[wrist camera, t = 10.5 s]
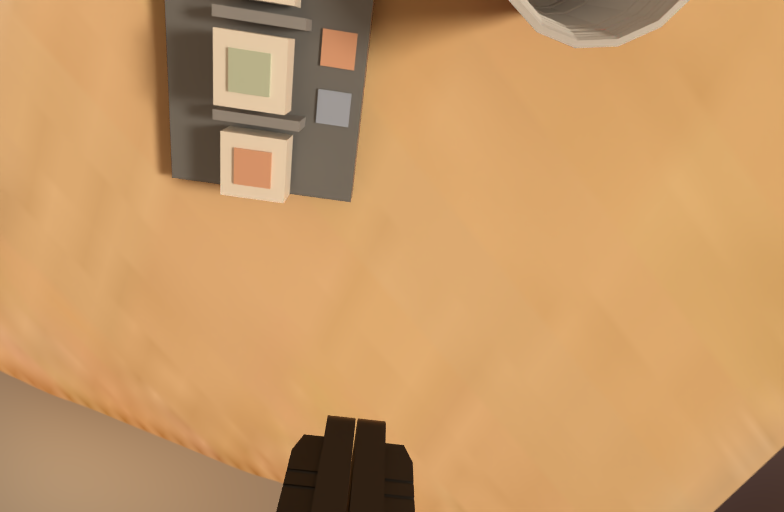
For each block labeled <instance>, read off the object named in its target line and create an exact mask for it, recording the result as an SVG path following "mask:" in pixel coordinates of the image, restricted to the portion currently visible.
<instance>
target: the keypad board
mask: <svg viewBox="0 0 784 512" xmlns="http://www.w3.org/2000/svg"><path fill="white" fill-rule="evenodd" d="M373 7H374V0H301V8H297V7H290V6H284V5H278V4H271V3H265V2H259V1H252V0H165V18H166V41H167V65H168V89H169V112H170V136H171V160H172V178H179V179H186V180H193V181H201V182H208V183H215V184H220V131H221V130H223V129H225V128H227V127H229V126H236V127H242V128H249V129H256V130H263V131H270V132H277V133H284V134H291V135H293V146H292V163H291V180H290V194H295V195H303V196H310V197H317V198H324V199H332V200H339V201H346V202H351V198H352V192H353V183H354V175H355V166H356V157H357V148H358V139H359V131H360V122H361V113H362V104H363V95H364V87H365V78H366V69H367V60H368V51H369V43H370V34H371V25H372V16H373ZM213 27H218V28H228V29H234V30H240V31H247V32H253V33H260V34H266V35H273V36H279V37H286V38H292V39H295V48H294V66H293V84H292V102H291V111H290V112H289V113H287V114H286V115H279V114H273V113H266V112H259V111H252V110H245V109H238V108H231V107H225V106H218V105H213Z"/></svg>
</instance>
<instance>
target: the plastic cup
mask: <svg viewBox="0 0 784 512" xmlns="http://www.w3.org/2000/svg"><path fill="white" fill-rule="evenodd" d="M688 1H689V0H509V2H510V3H511V4H512V5H513V6H514V7H515V8H516V9H517V10H518V12H519V13H520V14H521V15H522V16H523V17H524V18H525V19H526V21H527V22H528V23H529V24H530V25H531V26H532V27H533V28H534V29H535V31H536V32H538V33H540V34H542V35H545V36H547V37H550V38H552V39H554V40H557V41H559V42H562V43H564V44H566V45H569V46H571V47H574V48H591V47H617V46H620V45H623V44H625V43H627V42H629V41H631V40H634V39H636V38H638V37H640V36H642V35H645V34H647V33H649V32H651V31H654V30H656V29H658V28H660V27H662V26H663V25H664V24H665V23H666V22H667V21H668V20H669V19H670V18H671V17H672V16H673V15H674V14H676V13H677V12H678V11H679V10H680V9H681V8H682V7H683V6H684V5H685V4H686V3H687V2H688Z"/></svg>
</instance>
